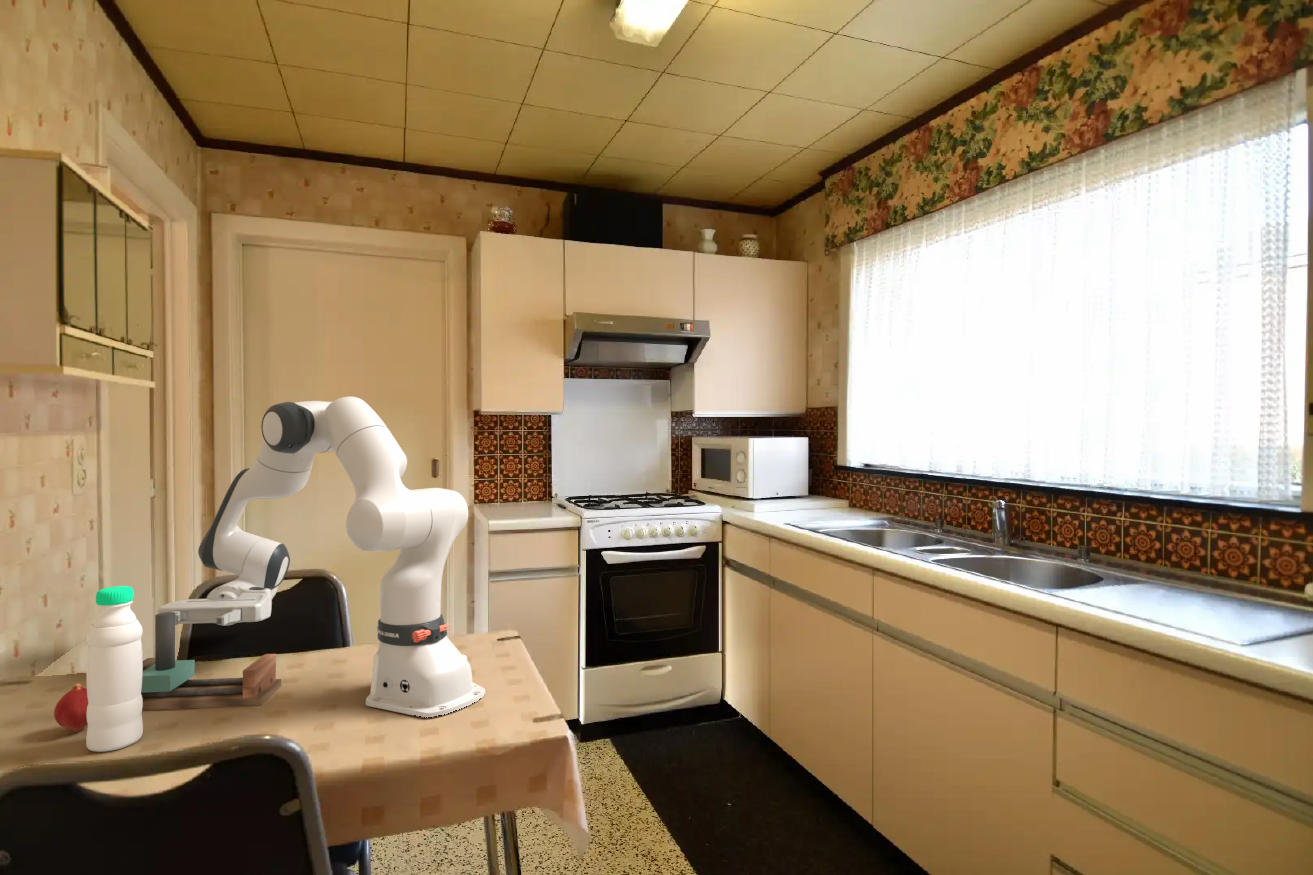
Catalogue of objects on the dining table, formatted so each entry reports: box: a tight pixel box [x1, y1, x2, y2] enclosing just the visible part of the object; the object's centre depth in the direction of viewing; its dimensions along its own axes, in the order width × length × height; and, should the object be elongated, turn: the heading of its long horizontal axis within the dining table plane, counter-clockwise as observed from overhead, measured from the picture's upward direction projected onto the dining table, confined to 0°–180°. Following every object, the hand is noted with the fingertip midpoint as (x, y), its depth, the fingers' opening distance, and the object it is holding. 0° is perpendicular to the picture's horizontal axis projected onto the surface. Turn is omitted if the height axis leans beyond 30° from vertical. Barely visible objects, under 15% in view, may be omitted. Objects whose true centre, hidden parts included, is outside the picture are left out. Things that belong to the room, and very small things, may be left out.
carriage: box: [141, 612, 196, 693], centre depth 125 cm, size 6×8×13 cm
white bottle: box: [85, 585, 144, 753], centre depth 108 cm, size 7×7×25 cm
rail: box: [141, 653, 282, 711], centre depth 126 cm, size 24×9×6 cm, turn 97°
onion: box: [53, 683, 88, 733], centre depth 112 cm, size 6×6×8 cm
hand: (194, 621), depth 134 cm, fingers open, 8 cm apart
